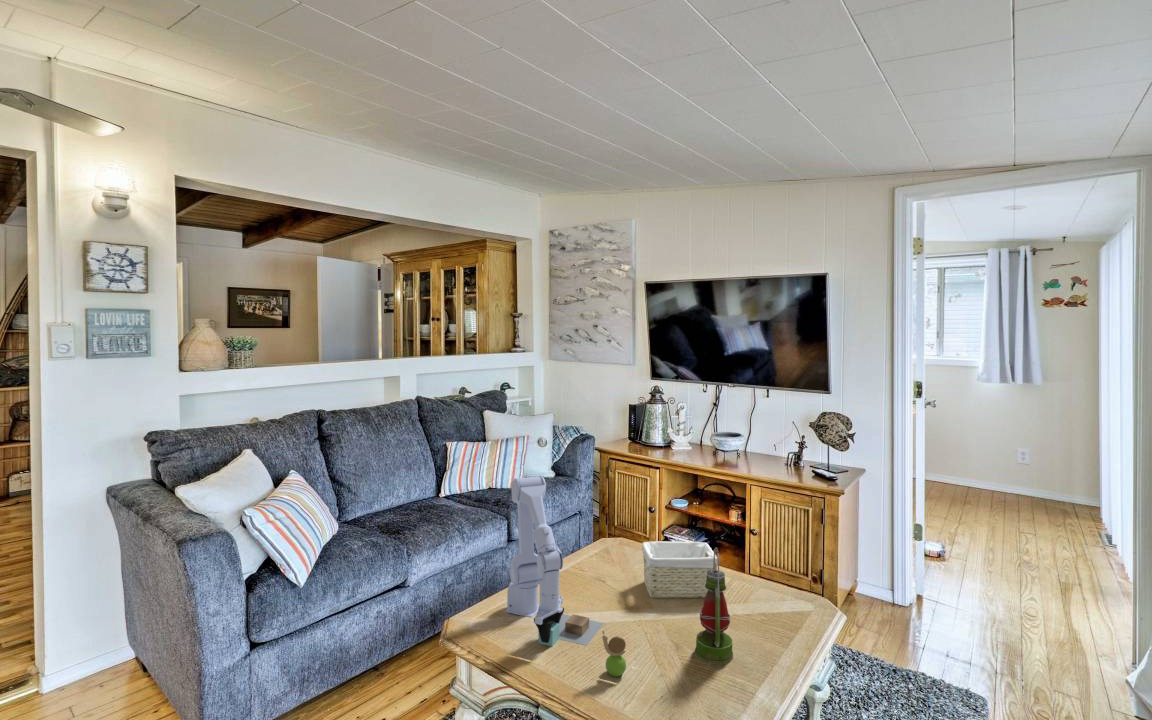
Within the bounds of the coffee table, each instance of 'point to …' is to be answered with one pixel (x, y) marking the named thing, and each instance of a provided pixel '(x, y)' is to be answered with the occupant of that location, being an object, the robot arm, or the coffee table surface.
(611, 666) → the green toy figure
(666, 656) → the coffee table surface
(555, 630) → the teal brick
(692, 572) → the storage basket
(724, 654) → the lantern
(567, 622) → the walnut brick
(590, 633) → the build plate
